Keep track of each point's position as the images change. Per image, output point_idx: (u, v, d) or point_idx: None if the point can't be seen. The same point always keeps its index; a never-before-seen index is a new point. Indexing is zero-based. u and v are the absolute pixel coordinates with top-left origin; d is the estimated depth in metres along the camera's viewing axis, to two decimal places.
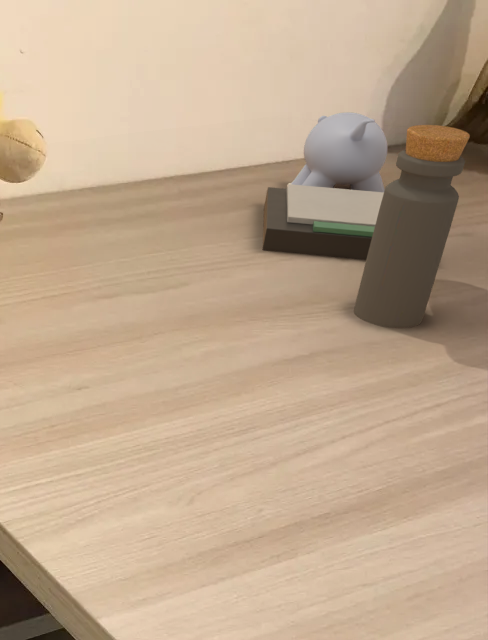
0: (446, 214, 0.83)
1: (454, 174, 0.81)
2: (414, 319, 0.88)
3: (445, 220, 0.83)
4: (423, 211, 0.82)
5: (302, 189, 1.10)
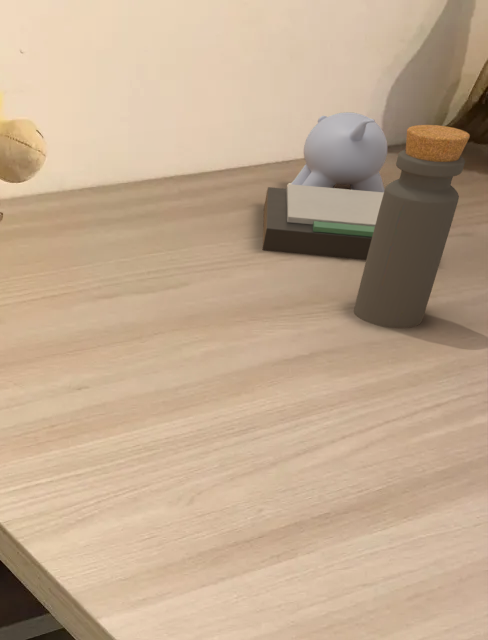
0: (446, 214, 0.83)
1: (454, 174, 0.81)
2: (414, 319, 0.88)
3: (445, 220, 0.83)
4: (423, 211, 0.82)
5: (302, 189, 1.10)
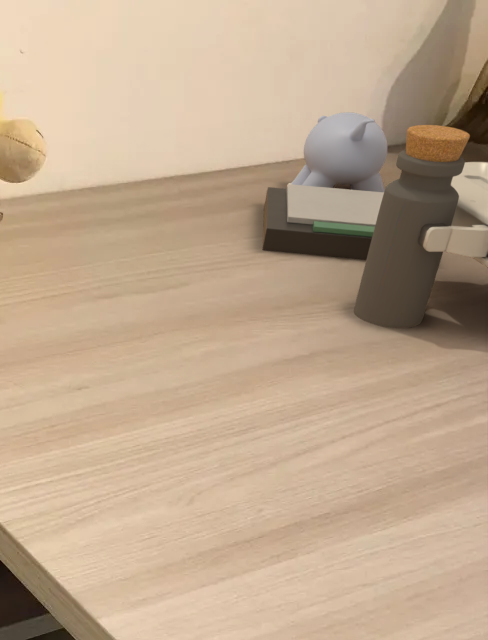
0: (446, 214, 0.83)
1: (454, 174, 0.81)
2: (414, 319, 0.88)
3: (445, 220, 0.83)
4: (423, 211, 0.82)
5: (302, 189, 1.10)
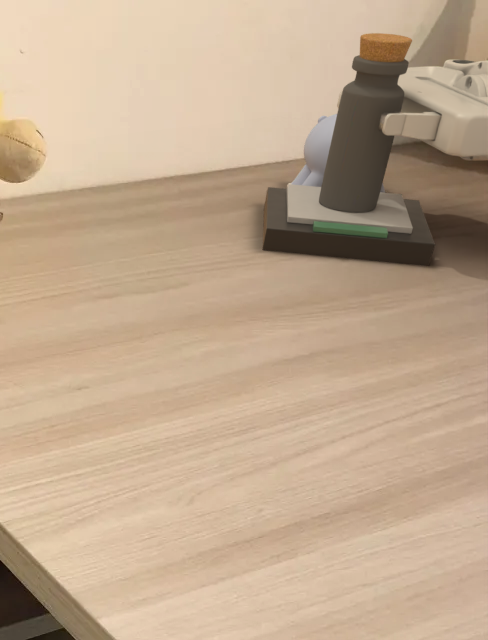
0: (393, 108, 0.99)
1: (399, 73, 0.97)
2: (369, 202, 1.04)
3: None
4: (374, 105, 0.98)
5: (302, 189, 1.10)
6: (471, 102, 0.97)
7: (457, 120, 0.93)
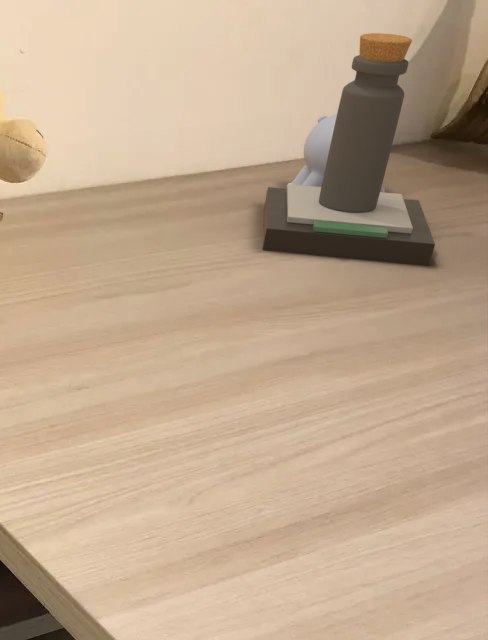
0: (393, 108, 0.99)
1: (399, 73, 0.97)
2: (369, 202, 1.04)
3: (392, 114, 0.99)
4: (374, 104, 0.98)
5: (302, 189, 1.10)
6: None
7: None
